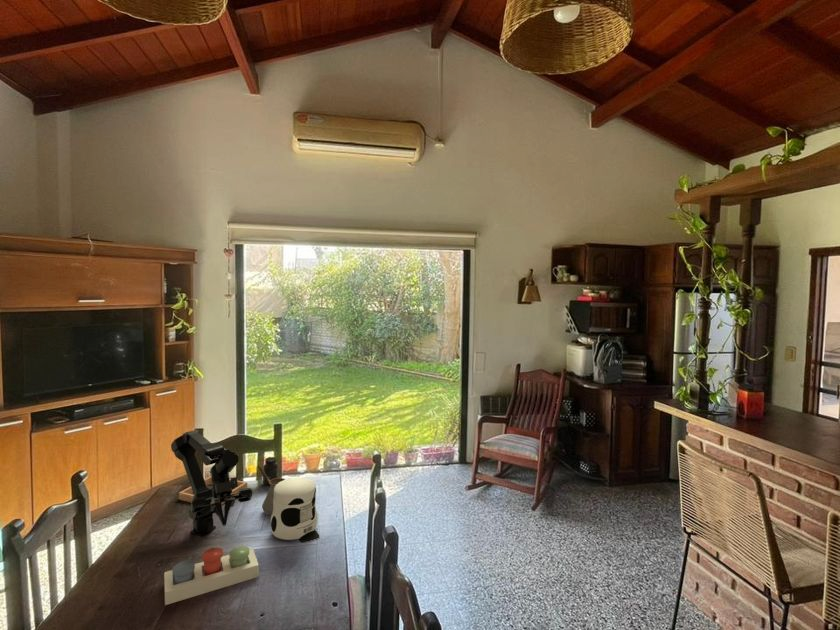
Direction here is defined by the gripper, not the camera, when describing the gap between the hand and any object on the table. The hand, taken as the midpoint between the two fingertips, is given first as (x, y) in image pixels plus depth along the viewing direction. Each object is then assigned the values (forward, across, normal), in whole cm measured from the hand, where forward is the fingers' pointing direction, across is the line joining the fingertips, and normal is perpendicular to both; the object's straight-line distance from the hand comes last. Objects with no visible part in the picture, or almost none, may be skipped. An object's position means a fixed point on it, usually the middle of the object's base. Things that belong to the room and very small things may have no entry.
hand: (224, 525), depth 144 cm
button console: (+14, -4, +5) cm, 16 cm away
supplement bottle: (-28, +27, +48) cm, 62 cm away
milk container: (+4, +26, +16) cm, 30 cm away
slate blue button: (+14, -12, +4) cm, 19 cm away
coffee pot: (-12, +22, +32) cm, 41 cm away
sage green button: (+14, +4, +4) cm, 15 cm away
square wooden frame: (-29, +3, +48) cm, 56 cm away
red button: (+12, -4, +3) cm, 13 cm away
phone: (+5, +29, +15) cm, 33 cm away
